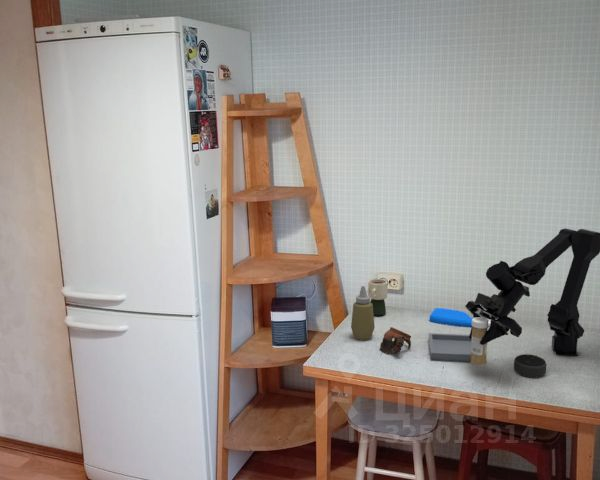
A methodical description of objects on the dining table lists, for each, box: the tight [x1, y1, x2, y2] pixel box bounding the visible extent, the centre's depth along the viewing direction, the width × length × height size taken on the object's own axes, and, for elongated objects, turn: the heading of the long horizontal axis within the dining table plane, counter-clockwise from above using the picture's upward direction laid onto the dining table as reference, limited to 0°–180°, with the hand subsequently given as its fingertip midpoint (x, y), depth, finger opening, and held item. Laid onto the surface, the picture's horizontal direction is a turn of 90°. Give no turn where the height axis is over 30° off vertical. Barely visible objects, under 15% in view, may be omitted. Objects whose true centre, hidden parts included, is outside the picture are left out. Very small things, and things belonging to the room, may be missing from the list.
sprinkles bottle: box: [471, 317, 489, 367], centre depth 170 cm, size 5×5×14 cm
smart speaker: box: [513, 353, 548, 379], centre depth 172 cm, size 9×9×4 cm
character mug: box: [367, 278, 388, 316], centre depth 220 cm, size 11×7×13 cm, turn 153°
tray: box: [428, 332, 472, 363], centre depth 187 cm, size 16×16×2 cm
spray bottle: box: [429, 307, 491, 328], centre depth 211 cm, size 3×11×24 cm
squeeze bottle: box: [350, 285, 376, 341], centre depth 198 cm, size 8×8×18 cm
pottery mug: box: [379, 326, 412, 355], centre depth 188 cm, size 12×10×8 cm
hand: (475, 341), depth 169 cm, fingers closed on sprinkles bottle, 4 cm apart
